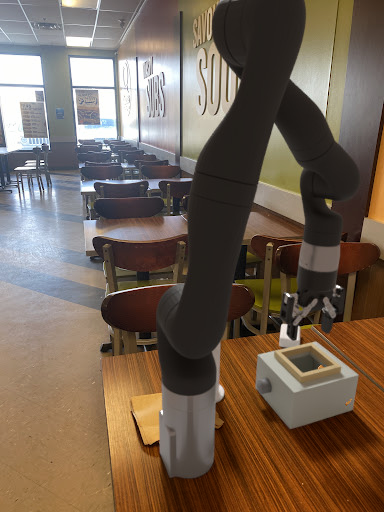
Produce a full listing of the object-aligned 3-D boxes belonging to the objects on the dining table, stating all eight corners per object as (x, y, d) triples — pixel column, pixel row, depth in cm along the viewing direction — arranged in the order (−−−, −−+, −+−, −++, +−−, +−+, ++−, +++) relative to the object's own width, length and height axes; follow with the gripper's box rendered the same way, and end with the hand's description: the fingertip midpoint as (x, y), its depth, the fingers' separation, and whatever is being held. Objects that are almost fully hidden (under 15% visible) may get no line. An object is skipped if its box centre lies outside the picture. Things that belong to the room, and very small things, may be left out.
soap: (280, 331, 117) (281, 322, 116) (299, 334, 116) (300, 325, 115) (278, 347, 109) (279, 338, 108) (299, 350, 108) (300, 341, 107)
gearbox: (281, 432, 79) (286, 388, 76) (247, 389, 92) (250, 350, 88) (352, 410, 85) (359, 368, 82) (311, 373, 98) (316, 335, 94)
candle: (219, 407, 86) (223, 303, 78) (189, 399, 88) (189, 298, 80) (227, 387, 92) (231, 289, 84) (198, 381, 94) (200, 285, 86)
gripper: (299, 274, 72) (291, 350, 78) (360, 265, 77) (348, 338, 83) (277, 261, 79) (270, 332, 84) (334, 254, 84) (324, 321, 89)
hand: (309, 335), depth 84 cm, fingers open, 8 cm apart
